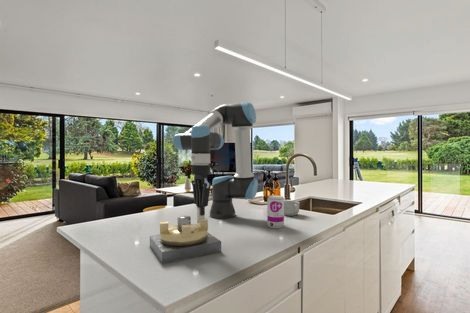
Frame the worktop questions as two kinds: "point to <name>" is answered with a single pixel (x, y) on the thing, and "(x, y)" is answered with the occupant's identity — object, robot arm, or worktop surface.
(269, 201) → the supplement can
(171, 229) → the ring nut
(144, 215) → the worktop surface
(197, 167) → the robot arm
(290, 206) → the teacup
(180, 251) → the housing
